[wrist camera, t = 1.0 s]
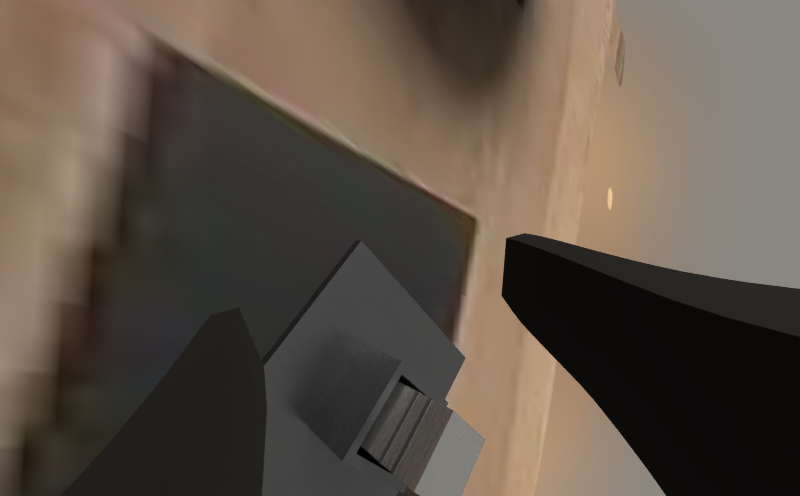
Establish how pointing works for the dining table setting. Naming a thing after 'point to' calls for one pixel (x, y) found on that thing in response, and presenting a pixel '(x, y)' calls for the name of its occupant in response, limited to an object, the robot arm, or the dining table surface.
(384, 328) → the stand
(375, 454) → the column
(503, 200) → the dining table surface
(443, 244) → the dining table surface
